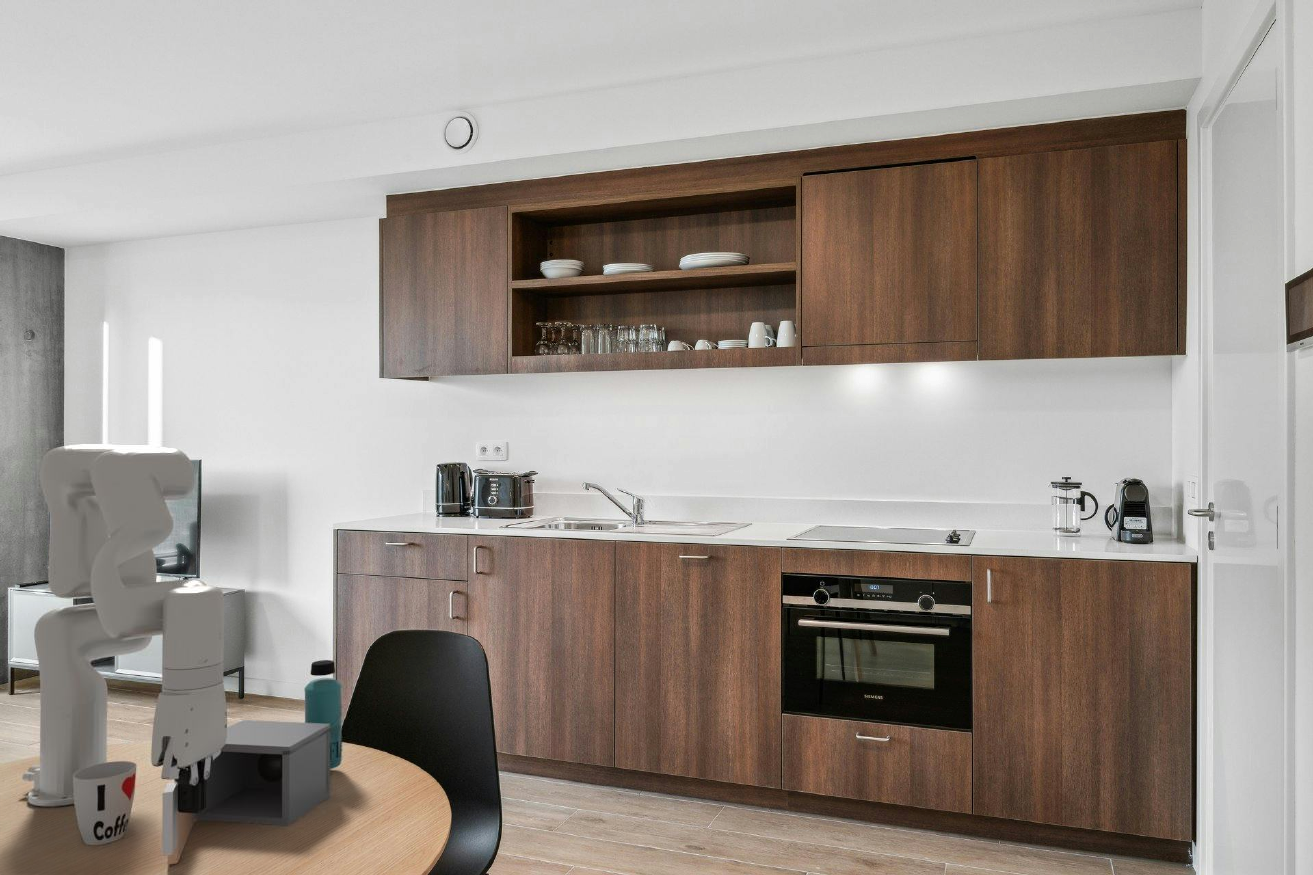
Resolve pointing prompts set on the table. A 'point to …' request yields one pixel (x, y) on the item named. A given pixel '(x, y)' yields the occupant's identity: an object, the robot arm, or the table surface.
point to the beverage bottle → (325, 705)
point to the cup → (104, 800)
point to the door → (174, 824)
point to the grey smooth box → (268, 773)
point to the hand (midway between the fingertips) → (191, 810)
